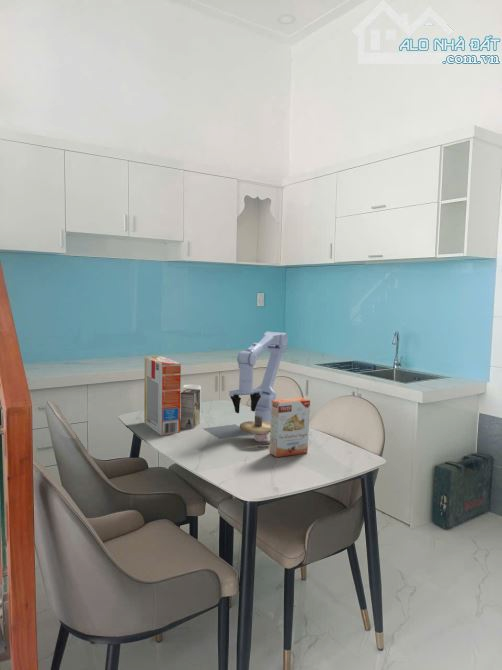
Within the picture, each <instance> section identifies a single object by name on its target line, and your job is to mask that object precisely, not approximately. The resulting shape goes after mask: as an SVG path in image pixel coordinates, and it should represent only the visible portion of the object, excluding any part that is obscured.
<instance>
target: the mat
mask: <svg viewBox="0 0 502 670" xmlns="http://www.w3.org/2000/svg"><path fill="white" fill-rule="evenodd" d="M202 429H203V430H204V431H206V432H208V433H209V434H211V435H213V436H215V437H216V438H218V439H227V438H231V437H232V438H233V437H240V436H247V435H254V433H252V432H246V431H243V430H241V429H240V425H237V424H228V425H227V424H226V425H220V426H212V427H204V428H202Z"/></svg>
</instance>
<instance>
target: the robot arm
mask: <svg viewBox="0 0 502 670" xmlns="http://www.w3.org/2000/svg"><path fill="white" fill-rule="evenodd" d="M288 343H289V339H288V334H287V333H286V332H277V331H275V332H274V331H265V332H264V334H263V337H262V338H261V340H260V341H259V342H253V343H252V344H251V345H250V346H249V347H247V348H246V350H241V351H240V352H239V353H238V354H237V358H236V361H237V362H236V363H237V366H238V370H239V375H238V379H239V380H238V382H239V383H238V384H239V385H238V389H235V390H229V394H228V395H229V397H230V399H231V402H232V404H233V407H234V412H235V413H236V414H239V413H240V406H241V405H240V404H241V400H242V398H241V397H240V396H250V411H251V412H254V417H255V416H256V415H261V416H262V421H265V422H270V423H271V406H272V400H276V399H277V393H276V392H275V390H274V389H273V388H274V384H275V381H276V377H277V374H278V370H279V367H280V363H281V361H282V357H283V354H284V353H285V352H286V349H287V346H288ZM265 349H266V350H267V351H268V352H269V354H270V355H269V359H268V362H267V365H266V368H265V371H264V375H263V379H262V382H261V384H260V386H258V387H256V388H254V366H255V365H256V363H257V360H258V358H259V357H260V356H262V355H263V354H264V350H265Z"/></svg>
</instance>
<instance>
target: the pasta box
mask: <svg viewBox="0 0 502 670" xmlns="http://www.w3.org/2000/svg"><path fill="white" fill-rule="evenodd" d="M181 365H182V364H181V362H178V361H175V360H174V359H170V358H167V357H165V356H160V355H159V356H145V357H144V394H143V395H144V396H143V400H144V407H143V408H144V412H143V413H144V415H143V416H144V419H143V420H144V421H143V422H145V423H144V424H146V425H147V426H148V427H150V428H151V430H152V429H153V431H155V432H156V433H157V434H159V436H161V437H163V436H171V435H174V434H178V433H181V428H180V425H181V424H180V423H181V422H180V421H181V383H182V382H181V378H182V377H181V376H182V375H181V374H182V373H181V371H182V370H181V369H182V368H181V367H182V366H181Z"/></svg>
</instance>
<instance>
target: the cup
mask: <svg viewBox="0 0 502 670" xmlns="http://www.w3.org/2000/svg"><path fill="white" fill-rule="evenodd" d="M187 389H195V390H200V413H201V412H202V411H201V409H202V407H201V405H202V404H201V402H202V401H201V399H202V398H201V397H202V386H201V385H199V384H184V385H183V387H182V392H183V391H185V390H187Z"/></svg>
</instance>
